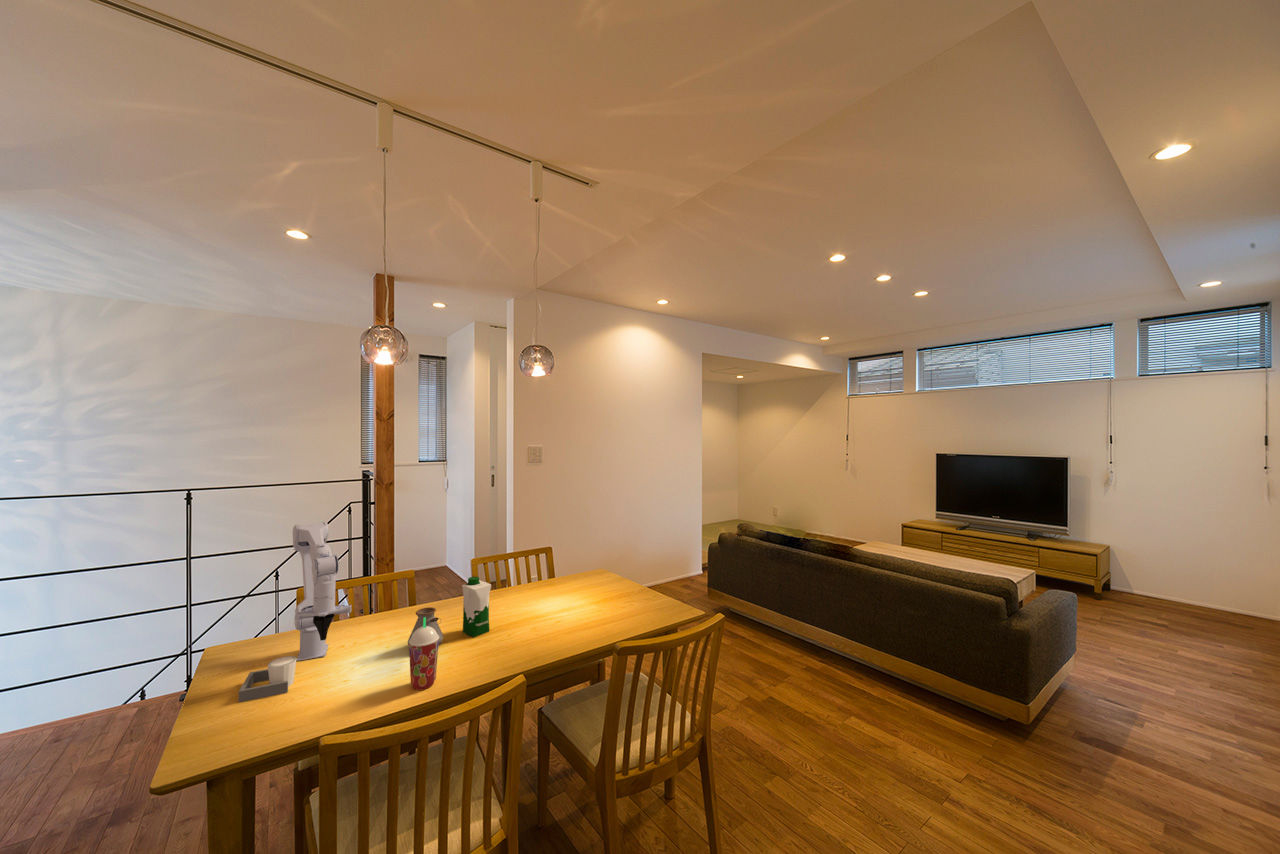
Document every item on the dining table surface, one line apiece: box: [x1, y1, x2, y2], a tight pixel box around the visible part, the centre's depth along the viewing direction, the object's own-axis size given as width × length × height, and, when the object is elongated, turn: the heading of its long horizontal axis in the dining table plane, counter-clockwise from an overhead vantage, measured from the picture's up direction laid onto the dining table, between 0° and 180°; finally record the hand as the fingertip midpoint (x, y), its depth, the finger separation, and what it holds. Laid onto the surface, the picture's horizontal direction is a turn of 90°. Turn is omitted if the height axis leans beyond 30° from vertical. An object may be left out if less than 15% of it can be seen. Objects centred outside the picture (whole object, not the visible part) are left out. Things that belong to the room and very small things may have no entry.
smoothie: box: [408, 617, 440, 691], centre depth 141 cm, size 8×8×20 cm
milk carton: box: [462, 576, 492, 638], centre depth 178 cm, size 9×9×20 cm
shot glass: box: [267, 655, 297, 687], centre depth 140 cm, size 7×7×7 cm
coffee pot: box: [407, 606, 444, 646], centre depth 161 cm, size 21×12×15 cm, turn 37°
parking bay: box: [237, 668, 296, 703], centre depth 138 cm, size 12×11×3 cm
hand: (323, 639), depth 148 cm, fingers closed
